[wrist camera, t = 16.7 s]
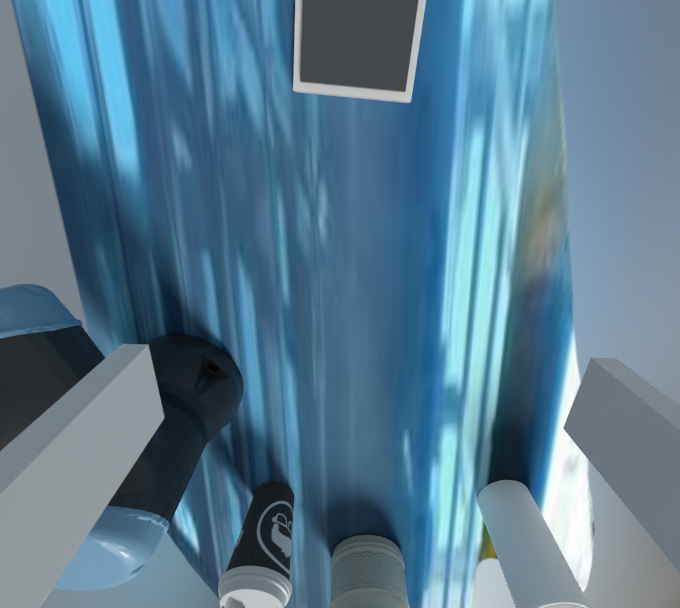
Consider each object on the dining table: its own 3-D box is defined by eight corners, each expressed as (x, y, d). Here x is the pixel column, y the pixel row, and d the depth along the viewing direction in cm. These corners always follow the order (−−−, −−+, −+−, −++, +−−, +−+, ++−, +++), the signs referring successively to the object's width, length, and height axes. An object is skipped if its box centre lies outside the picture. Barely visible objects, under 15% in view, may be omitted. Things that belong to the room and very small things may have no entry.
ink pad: (294, 91, 33) (292, 89, 31) (299, -64, 28) (296, -75, 27) (409, 103, 33) (411, 101, 31) (431, -50, 28) (436, -61, 27)
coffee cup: (249, 471, 54) (215, 580, 41) (308, 481, 55) (295, 591, 41) (242, 509, 58) (210, 620, 44) (298, 519, 59) (283, 631, 45)
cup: (469, 509, 57) (511, 633, 42) (489, 475, 54) (542, 597, 39) (515, 517, 58) (572, 642, 43) (538, 484, 54) (608, 608, 40)
